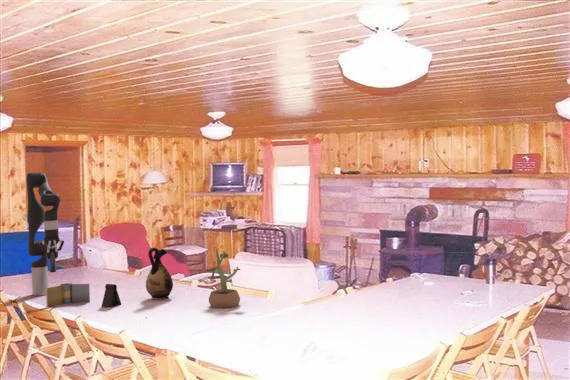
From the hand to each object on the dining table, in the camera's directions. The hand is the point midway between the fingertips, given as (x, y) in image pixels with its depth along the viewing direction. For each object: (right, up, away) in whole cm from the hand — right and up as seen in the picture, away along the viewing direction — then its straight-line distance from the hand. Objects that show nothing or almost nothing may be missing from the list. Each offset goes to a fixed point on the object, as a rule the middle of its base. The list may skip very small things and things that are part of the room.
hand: (52, 258), depth 357 cm
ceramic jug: (+60, -24, +6) cm, 65 cm away
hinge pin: (0, -8, 0) cm, 8 cm away
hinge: (+9, -25, 0) cm, 27 cm away
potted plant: (+99, -24, -15) cm, 103 cm away
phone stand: (+37, -25, -10) cm, 46 cm away
